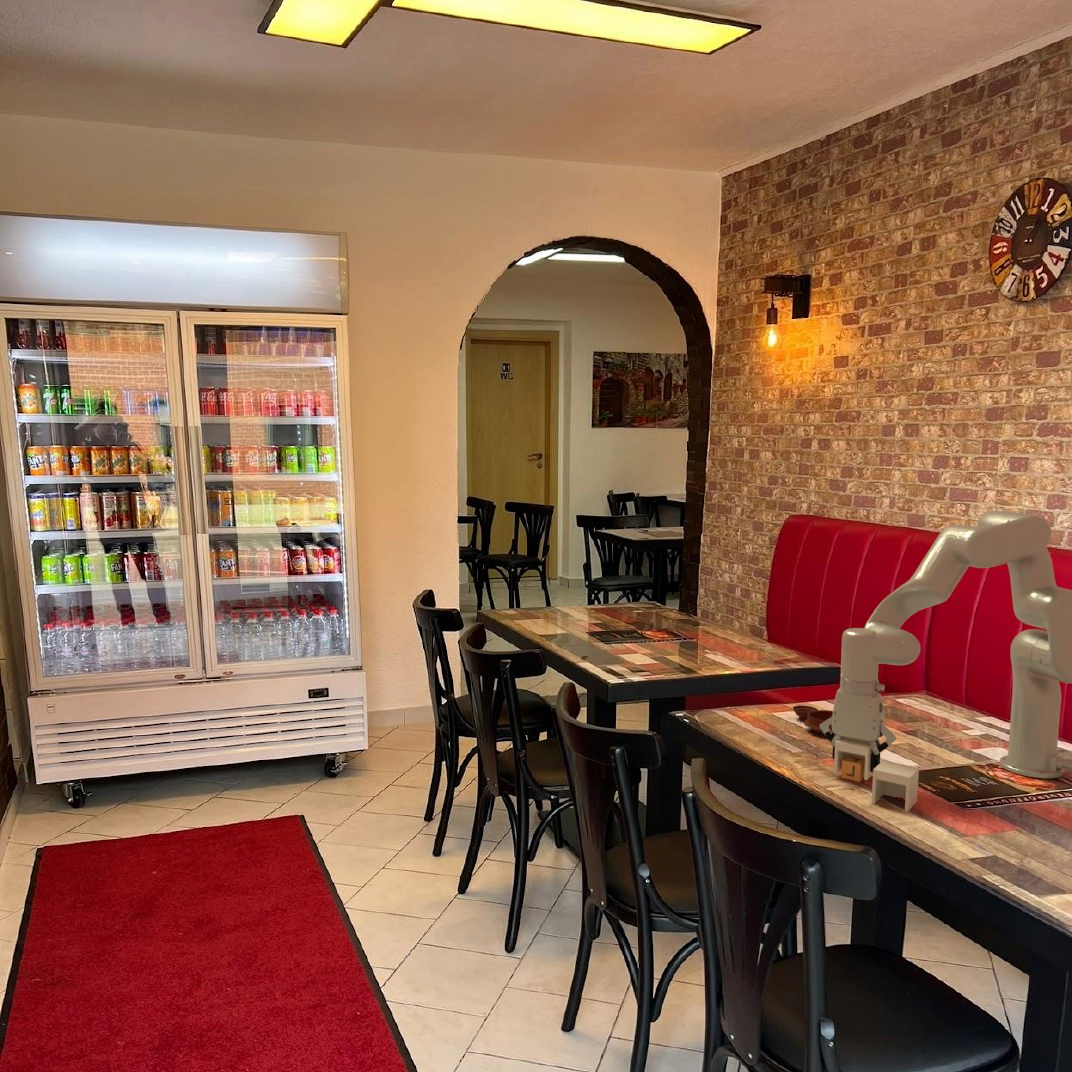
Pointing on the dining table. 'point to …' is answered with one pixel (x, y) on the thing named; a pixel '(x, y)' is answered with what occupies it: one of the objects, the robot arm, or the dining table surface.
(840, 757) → the cover cube
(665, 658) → the dining table surface
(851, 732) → the robot arm
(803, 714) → the pottery
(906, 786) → the cover empty
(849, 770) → the letter cube
